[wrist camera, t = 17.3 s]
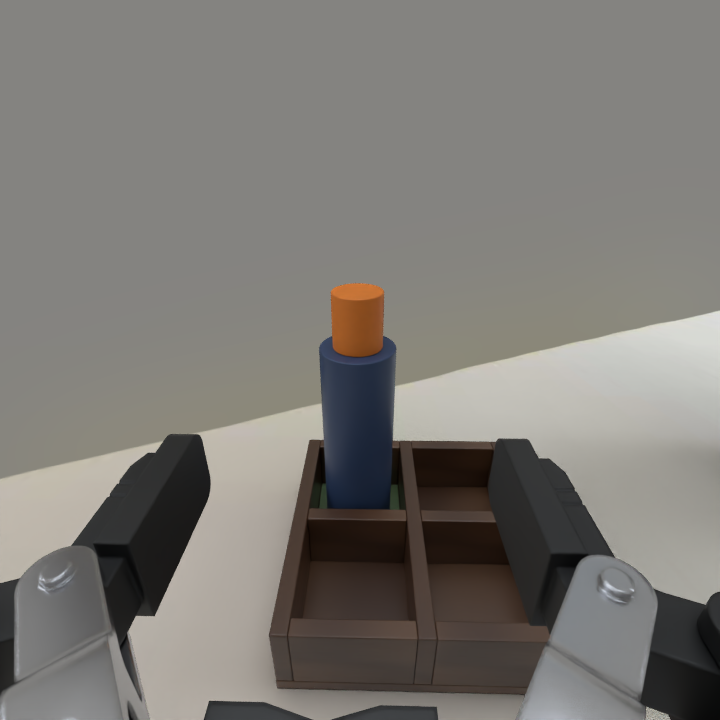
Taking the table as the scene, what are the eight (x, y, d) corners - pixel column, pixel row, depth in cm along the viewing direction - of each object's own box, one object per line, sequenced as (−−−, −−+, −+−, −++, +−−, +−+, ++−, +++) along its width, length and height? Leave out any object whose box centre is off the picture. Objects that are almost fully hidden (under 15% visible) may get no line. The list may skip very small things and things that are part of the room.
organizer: (493, 485, 31) (501, 441, 29) (568, 695, 19) (590, 643, 17) (312, 483, 31) (309, 439, 29) (277, 688, 19) (268, 636, 18)
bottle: (388, 492, 29) (396, 279, 23) (391, 540, 26) (401, 304, 19) (330, 491, 29) (320, 279, 23) (325, 539, 26) (311, 304, 19)
